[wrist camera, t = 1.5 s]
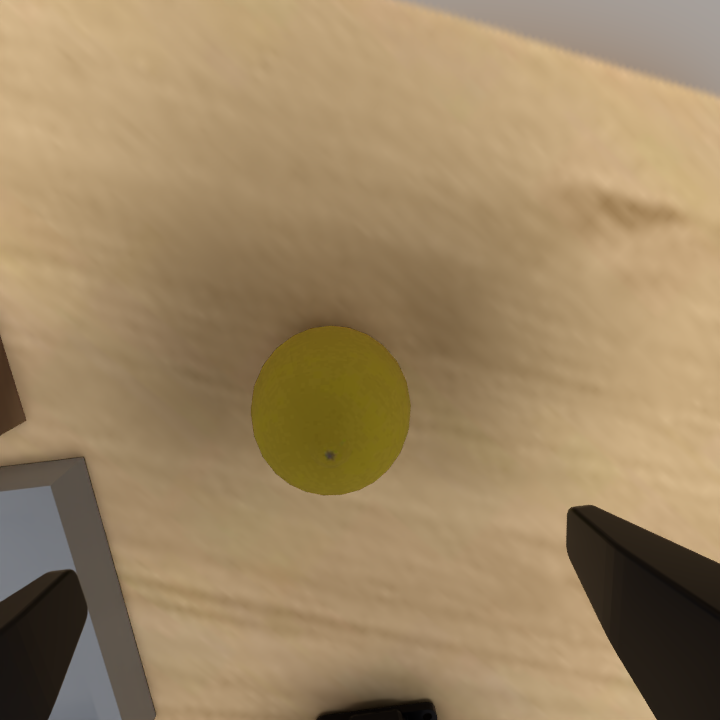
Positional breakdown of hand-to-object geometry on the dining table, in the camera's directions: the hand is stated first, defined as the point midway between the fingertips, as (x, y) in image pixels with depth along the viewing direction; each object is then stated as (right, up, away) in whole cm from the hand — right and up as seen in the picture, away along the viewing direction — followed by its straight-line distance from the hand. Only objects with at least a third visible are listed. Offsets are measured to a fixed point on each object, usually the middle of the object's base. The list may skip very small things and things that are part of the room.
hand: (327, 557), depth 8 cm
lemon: (-1, +3, +12) cm, 13 cm away
